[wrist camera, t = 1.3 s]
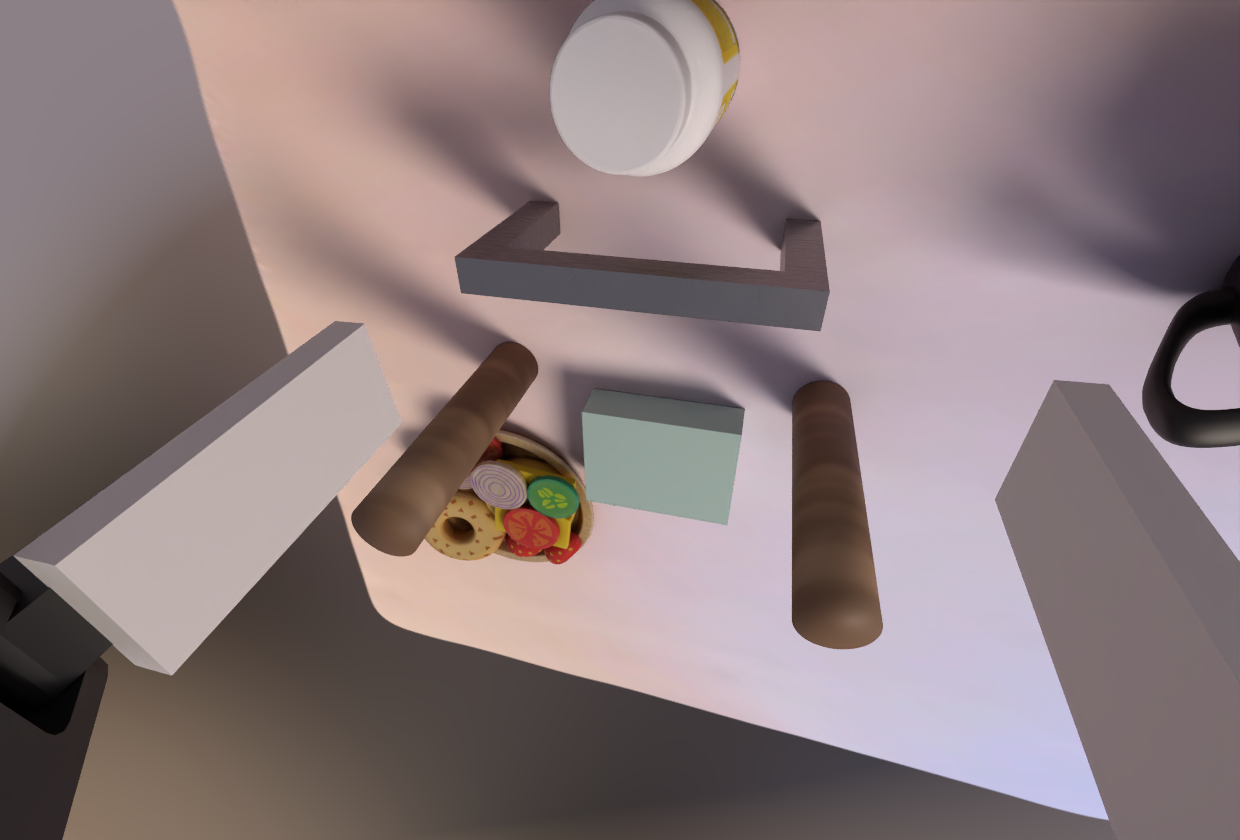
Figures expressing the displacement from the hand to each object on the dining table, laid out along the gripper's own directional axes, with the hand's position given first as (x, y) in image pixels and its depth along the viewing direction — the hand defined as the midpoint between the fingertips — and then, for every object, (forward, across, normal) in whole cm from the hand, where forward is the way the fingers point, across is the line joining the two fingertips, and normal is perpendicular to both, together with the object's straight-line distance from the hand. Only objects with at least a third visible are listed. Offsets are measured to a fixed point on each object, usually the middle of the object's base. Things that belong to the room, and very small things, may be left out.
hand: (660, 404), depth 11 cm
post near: (+18, +5, -12) cm, 22 cm away
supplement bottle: (+18, -3, +4) cm, 19 cm away
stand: (+17, -4, -16) cm, 24 cm away
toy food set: (+18, -15, -22) cm, 32 cm away
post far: (+17, -13, -11) cm, 24 cm away
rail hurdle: (+18, -3, -2) cm, 18 cm away
